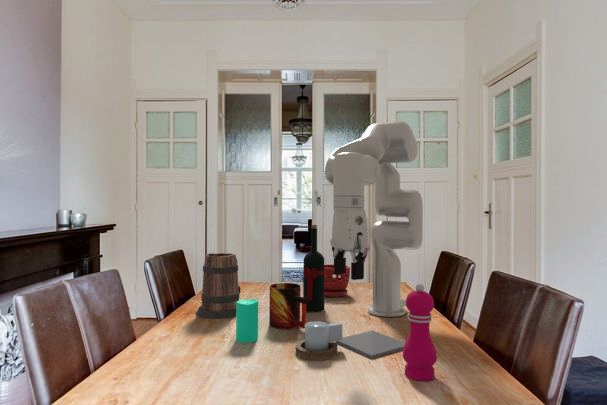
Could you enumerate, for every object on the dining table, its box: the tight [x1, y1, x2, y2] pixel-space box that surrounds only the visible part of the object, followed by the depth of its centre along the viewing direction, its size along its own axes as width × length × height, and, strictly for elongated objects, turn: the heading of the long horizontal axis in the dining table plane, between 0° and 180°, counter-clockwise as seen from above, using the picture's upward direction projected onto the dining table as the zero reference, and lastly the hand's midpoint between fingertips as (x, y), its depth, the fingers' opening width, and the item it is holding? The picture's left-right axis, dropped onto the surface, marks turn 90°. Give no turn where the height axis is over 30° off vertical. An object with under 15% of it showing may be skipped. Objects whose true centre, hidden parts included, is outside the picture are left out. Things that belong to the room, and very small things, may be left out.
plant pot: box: [324, 264, 351, 298], centre depth 168 cm, size 13×13×12 cm
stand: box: [295, 339, 338, 362], centre depth 102 cm, size 10×10×2 cm
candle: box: [235, 295, 259, 344], centre depth 112 cm, size 6×6×12 cm
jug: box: [304, 320, 343, 351], centre depth 103 cm, size 10×6×7 cm, turn 115°
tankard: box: [194, 252, 241, 320], centre depth 143 cm, size 24×17×20 cm
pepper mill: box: [402, 283, 438, 382], centre depth 89 cm, size 7×7×20 cm
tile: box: [334, 330, 406, 360], centre depth 108 cm, size 14×14×1 cm
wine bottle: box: [302, 224, 326, 313], centre depth 143 cm, size 8×10×30 cm
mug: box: [268, 282, 307, 330], centre depth 125 cm, size 10×14×12 cm
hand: (348, 276), depth 98 cm, fingers open, 7 cm apart
